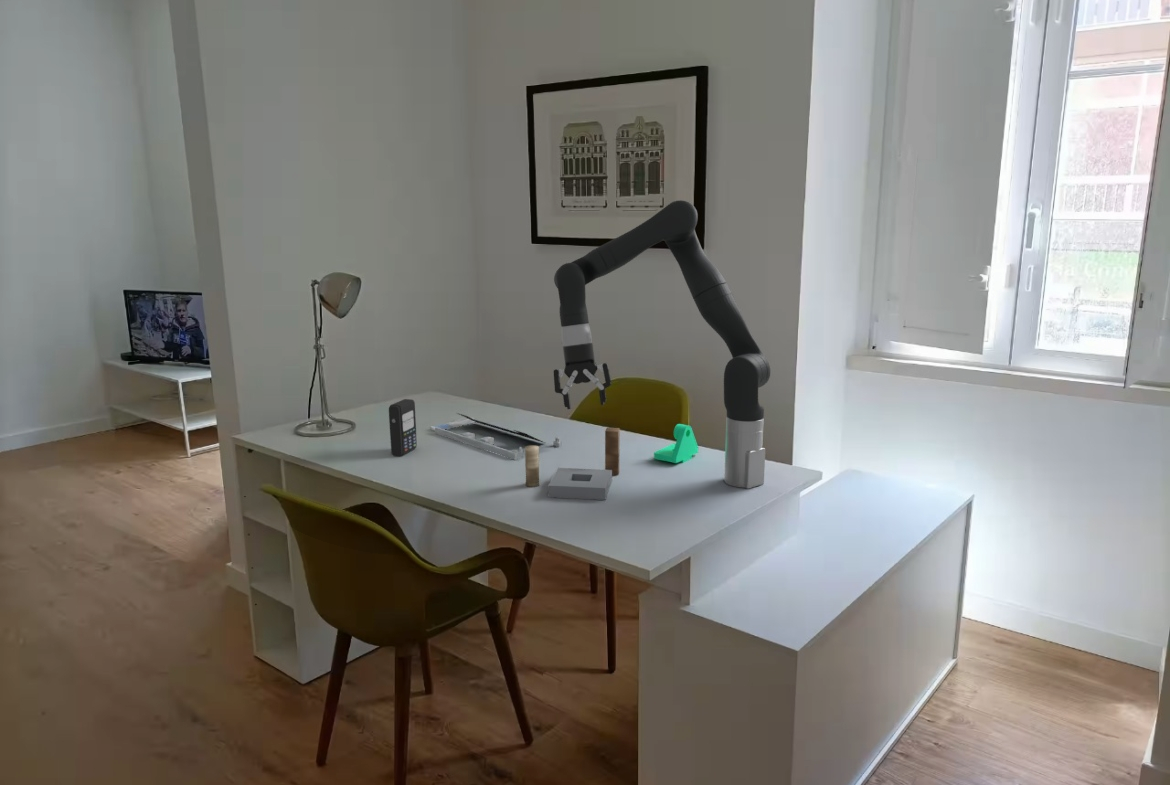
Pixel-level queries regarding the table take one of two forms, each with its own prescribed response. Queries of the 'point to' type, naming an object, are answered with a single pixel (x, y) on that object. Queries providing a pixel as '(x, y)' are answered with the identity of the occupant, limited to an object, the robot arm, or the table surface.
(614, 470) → the walnut bar
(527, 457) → the beech dowel
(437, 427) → the paper cutter
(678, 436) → the camera mount
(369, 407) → the table surface
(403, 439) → the card reader
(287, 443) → the table surface
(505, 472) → the table surface
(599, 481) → the bore plate
